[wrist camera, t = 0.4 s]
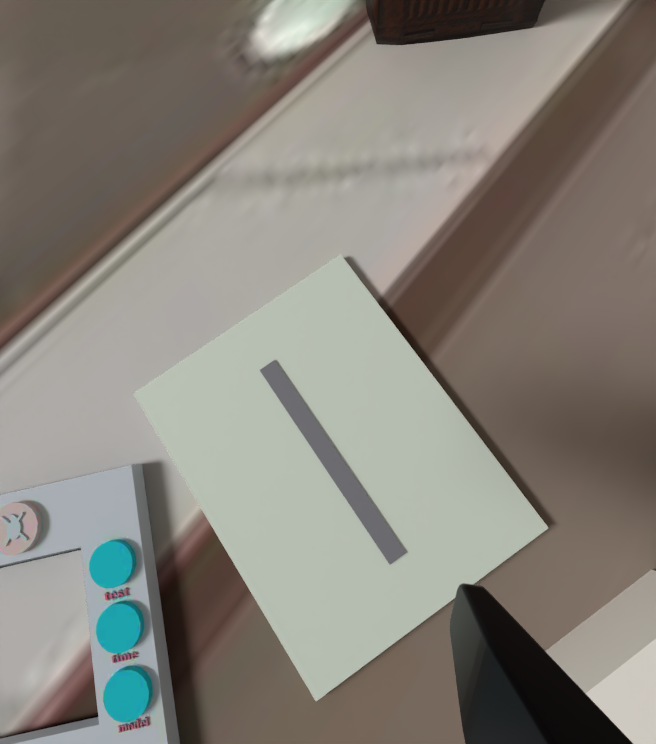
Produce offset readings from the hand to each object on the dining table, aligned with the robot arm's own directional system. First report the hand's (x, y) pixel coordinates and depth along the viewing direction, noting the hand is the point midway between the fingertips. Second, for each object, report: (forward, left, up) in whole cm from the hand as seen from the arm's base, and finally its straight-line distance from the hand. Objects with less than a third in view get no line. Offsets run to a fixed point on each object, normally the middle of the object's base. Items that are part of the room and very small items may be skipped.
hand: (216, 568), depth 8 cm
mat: (+1, -2, -14) cm, 15 cm away
